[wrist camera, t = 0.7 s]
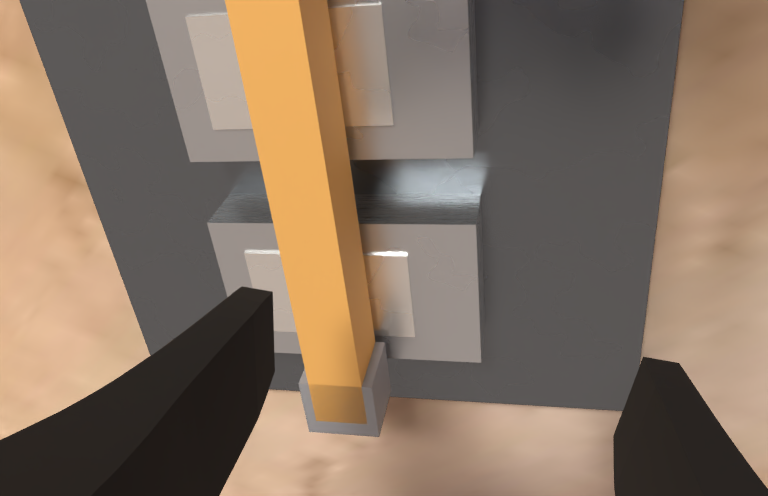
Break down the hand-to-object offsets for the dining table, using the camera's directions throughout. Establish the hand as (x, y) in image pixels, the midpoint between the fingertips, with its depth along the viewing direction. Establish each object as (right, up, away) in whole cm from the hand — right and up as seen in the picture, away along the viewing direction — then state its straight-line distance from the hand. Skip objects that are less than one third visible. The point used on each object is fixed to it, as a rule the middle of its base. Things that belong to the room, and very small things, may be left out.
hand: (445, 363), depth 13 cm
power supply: (-3, +8, +7) cm, 11 cm away
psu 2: (-2, +2, +10) cm, 11 cm away
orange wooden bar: (-3, +5, +5) cm, 8 cm away
